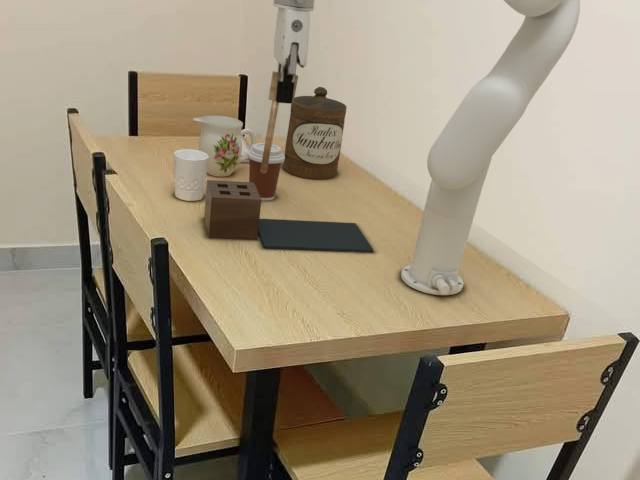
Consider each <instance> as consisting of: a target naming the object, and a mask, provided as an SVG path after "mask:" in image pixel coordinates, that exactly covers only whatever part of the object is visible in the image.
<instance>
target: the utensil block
mask: <svg viewBox="0 0 640 480" xmlns="http://www.w3.org/2000/svg"><path fill="white" fill-rule="evenodd" d="M261 207H262V200H261V197H260V195H259V193H258V191H257V188H256V186H255V184H254V183H253V182H249V181H235V180H233V181H232V180H218V179H217V180H216V179H215V180H214V179H206V183H205V199H204V215H203V220H204V224H205V228H206V229H205V230H206V232H207V237H208V239H224V240H225V239H227V240H229V239H230V240H250V241H251V240H253V241H254V240H255V241H257V240H258V237H259V234H258V227H259V219H261V218H260V217H261Z"/></svg>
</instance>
